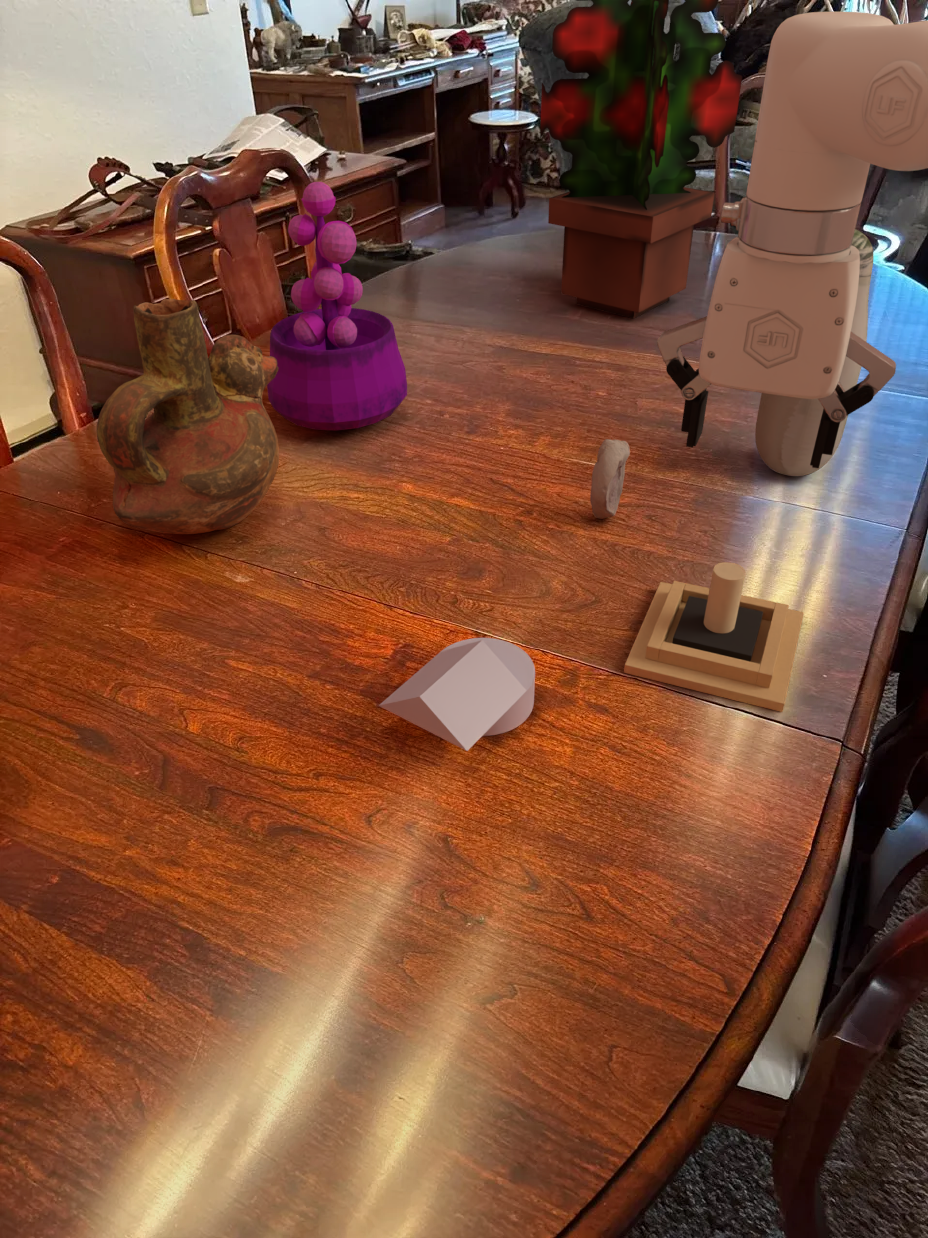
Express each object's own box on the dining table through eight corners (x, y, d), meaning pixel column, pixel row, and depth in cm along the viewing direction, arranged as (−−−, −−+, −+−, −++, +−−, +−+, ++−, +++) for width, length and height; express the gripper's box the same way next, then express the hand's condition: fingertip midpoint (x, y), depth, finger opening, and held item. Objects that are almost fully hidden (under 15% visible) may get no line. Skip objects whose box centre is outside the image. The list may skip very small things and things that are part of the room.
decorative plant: (433, 403, 130) (424, 172, 112) (363, 459, 117) (340, 208, 99) (322, 380, 137) (297, 159, 119) (244, 431, 124) (202, 191, 106)
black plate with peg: (760, 624, 87) (775, 558, 83) (748, 668, 82) (764, 601, 78) (687, 607, 89) (697, 542, 85) (670, 650, 84) (681, 583, 80)
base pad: (801, 620, 89) (807, 599, 88) (782, 712, 79) (788, 690, 78) (659, 589, 94) (662, 568, 92) (623, 672, 84) (625, 651, 82)
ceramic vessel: (341, 481, 113) (319, 272, 97) (198, 591, 95) (143, 356, 79) (232, 452, 119) (195, 251, 104) (78, 550, 101) (6, 325, 86)
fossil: (606, 535, 102) (614, 454, 96) (578, 527, 103) (583, 446, 97) (627, 512, 106) (636, 432, 100) (600, 504, 107) (606, 425, 101)
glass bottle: (837, 491, 109) (903, 244, 92) (748, 484, 110) (796, 240, 93) (828, 453, 116) (887, 218, 99) (745, 446, 118) (789, 215, 101)
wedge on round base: (467, 780, 73) (553, 691, 82) (466, 719, 69) (556, 631, 78) (381, 734, 78) (470, 654, 86) (375, 674, 74) (469, 595, 82)
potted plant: (534, 305, 161) (544, -4, 134) (604, 274, 175) (626, -13, 147) (644, 333, 150) (679, 2, 123) (709, 298, 163) (754, -9, 136)
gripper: (661, 229, 64) (636, 452, 74) (931, 253, 58) (864, 491, 69) (684, 203, 69) (658, 414, 80) (933, 223, 64) (870, 448, 74)
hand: (753, 450), depth 74 cm, fingers open, 9 cm apart
